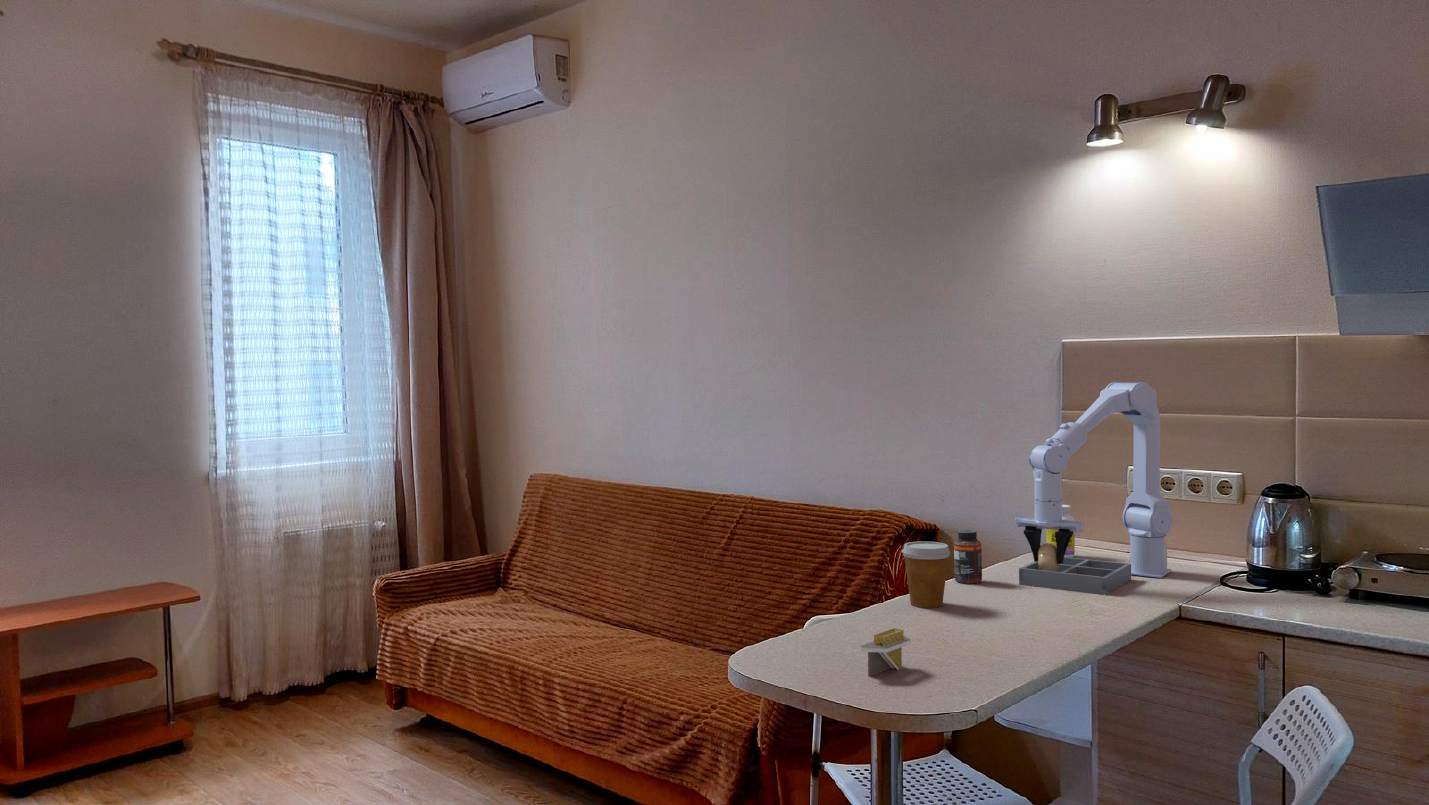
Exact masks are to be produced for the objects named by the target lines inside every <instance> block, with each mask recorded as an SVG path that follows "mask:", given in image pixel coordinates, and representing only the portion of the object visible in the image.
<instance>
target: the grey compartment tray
mask: <svg viewBox="0 0 1429 805" xmlns="http://www.w3.org/2000/svg"><path fill="white" fill-rule="evenodd" d="M1131 580H1132V575H1131V564H1130V563H1128V562H1117V561H1108V560H1099V559H1098V560H1096V559H1087V558H1079V557H1076V558H1075V557H1073V558H1069V557H1064V560H1063V563H1062V564H1059V571H1055V572H1054V571H1045V570H1038V562H1035V561H1032V562H1031V563H1027V564H1026V565H1024V566H1021V567H1018V585H1022V586H1031V587H1037V588H1038V587H1039V588H1046V589H1056V590H1063V591H1070V592H1079V593H1088V594H1097V595H1103V594H1105V595H1104V596H1107V595H1109V594H1110V593H1111V592H1113V591H1114V590H1116V589H1118V588H1119V586H1120V587H1121V586H1122V585H1124V584H1126V583H1128V582H1129V581H1131ZM1106 594H1107V595H1106Z"/></svg>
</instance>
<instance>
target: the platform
mask: <svg viewBox="0 0 1429 805" xmlns="http://www.w3.org/2000/svg"><path fill="white" fill-rule="evenodd" d="M896 630H897V631H896ZM904 631H905V629H901V628H895V627H893V628H890V629H887V630H884V631H881V632H878V633H876V634H873V641H872V642H868V643H865V644H862V645H860V646H859V650H860V651H861V652H865V653H867V672H868V673H867V677H871V676H874V675H877V674H880V673H882V672H885V671H887V670H889V669H896V670H897V671H899V670H902V669H903V665H902V664H903V662H902V659H903V657H902V656H903V655H902V653H903V652H902V650H903V649H902V647H905V646H908V645H911V643H912V640H911V638H909V637H906V636H904Z"/></svg>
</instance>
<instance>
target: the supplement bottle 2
mask: <svg viewBox="0 0 1429 805" xmlns="http://www.w3.org/2000/svg"><path fill="white" fill-rule="evenodd" d="M1071 510H1072V509H1071V505H1069V504H1062V520H1067V521H1074V522H1076V520H1075V518H1074V516H1072V515H1071V514H1070V513H1071ZM1049 527H1056V526H1049ZM1061 528H1062V527H1061ZM1057 531H1059V530H1053V529H1046V543H1051V544H1053V545H1055V546H1056V547H1057V545H1056V538H1055V532H1057ZM1073 532H1074V533H1073V535H1072V537H1071V539H1070V541H1069V543H1068V546H1067V548H1066V551H1065V555H1064V557H1069V558H1075V552H1076V550H1075V548H1076V547H1075V545H1076V544H1075V543H1076V542H1075V541H1076V540H1075V535H1076V534H1075V533H1076V531H1073Z"/></svg>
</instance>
